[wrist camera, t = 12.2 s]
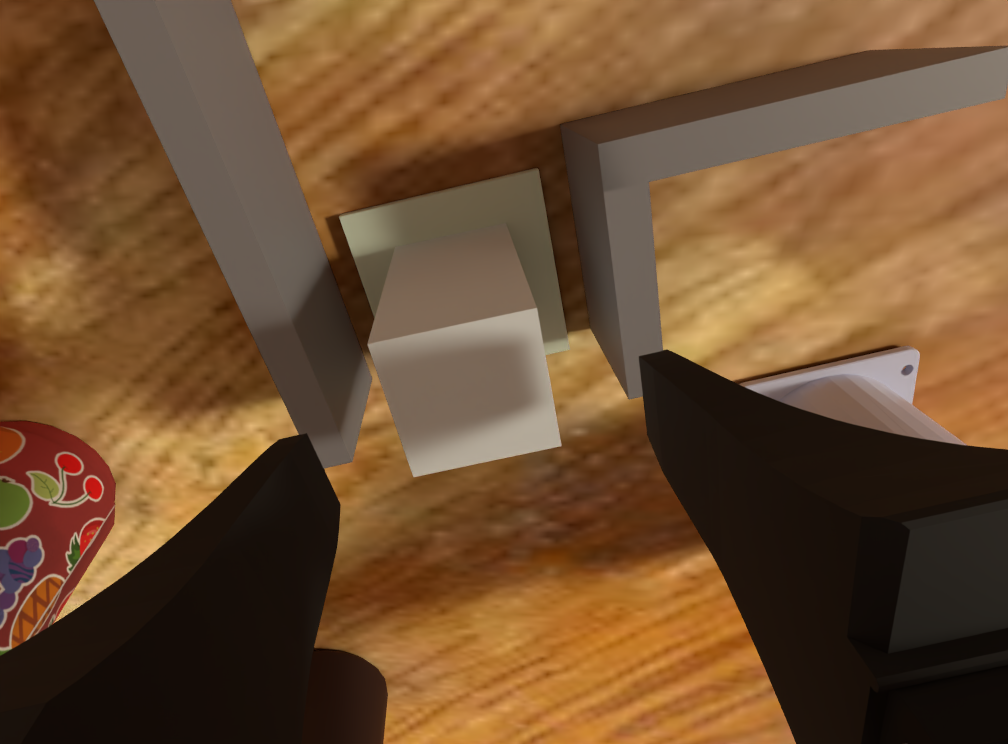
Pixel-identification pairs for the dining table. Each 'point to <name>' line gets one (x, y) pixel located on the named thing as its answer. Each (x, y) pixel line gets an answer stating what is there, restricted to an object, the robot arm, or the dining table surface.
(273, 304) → the rails
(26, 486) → the smoothie
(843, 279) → the dining table surface
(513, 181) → the mat
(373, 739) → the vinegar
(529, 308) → the block
